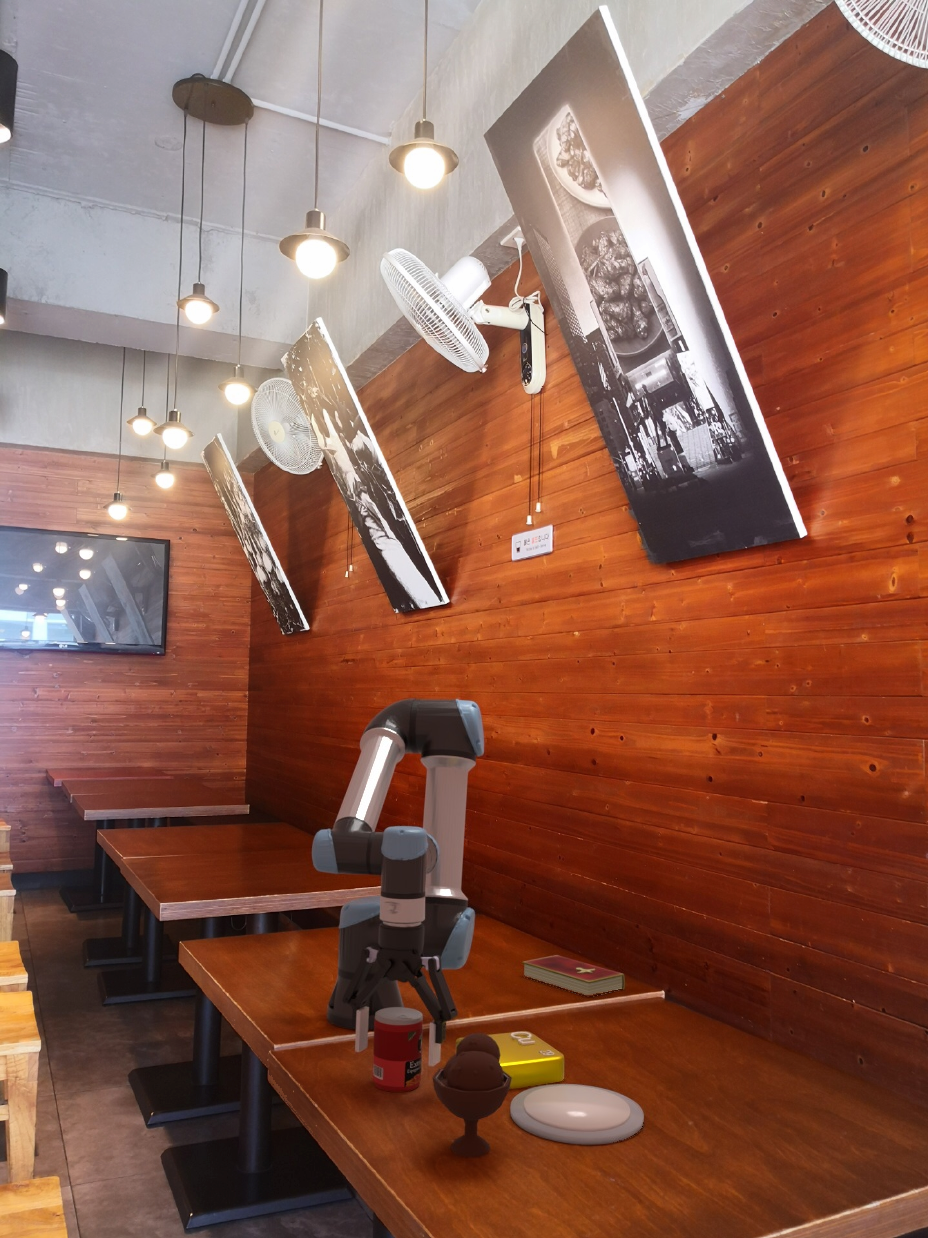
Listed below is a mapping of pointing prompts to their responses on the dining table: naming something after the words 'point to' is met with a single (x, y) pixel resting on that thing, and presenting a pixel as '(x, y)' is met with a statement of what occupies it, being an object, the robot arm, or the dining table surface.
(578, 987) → the hardcover book
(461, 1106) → the ice cream bowl
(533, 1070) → the element tile
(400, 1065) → the canned food
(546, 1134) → the dish
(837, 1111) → the dining table surface
